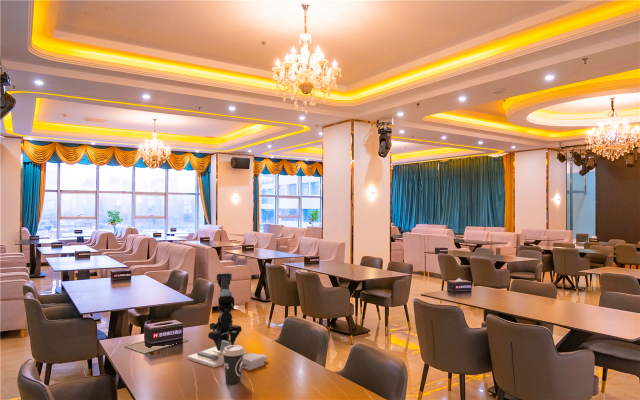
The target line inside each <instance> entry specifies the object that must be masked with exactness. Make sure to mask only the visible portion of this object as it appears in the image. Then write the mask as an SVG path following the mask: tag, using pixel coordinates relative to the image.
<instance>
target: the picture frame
mask: <svg viewBox="0 0 640 400" xmlns="http://www.w3.org/2000/svg"><path fill="white" fill-rule="evenodd" d="M144 341H145V340H143V341H138V342H135V343H131V344H128V345H124V346H123V347H124V349H125V348H126V349H129V350H131V351H134V352H137V353H140V354H142V355H146V354H150V353H153V352H156V351H159V350H163V349H166V348H170V347H173V346H175V345H174V344H172V345H173V346H172V345H165V346H152V347H151V348H148V347H146V346H145V343H144ZM186 342H189V339H186V338H183V343H186ZM176 344H177V343H176ZM177 345H178V344H177ZM169 346H170V347H169Z"/></svg>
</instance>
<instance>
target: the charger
mask: <svg viewBox="0 0 640 400" xmlns="http://www.w3.org/2000/svg"><path fill="white" fill-rule="evenodd" d="M268 357H269V355H266V354H263V353H262V354H258V353H255V352H251V353H248V354H247V355H245V356H243V361H242V369H245V370H248V371H252V370H255V369H257V368H260V367H263V366H264V365H265V361H266V360H268Z"/></svg>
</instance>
